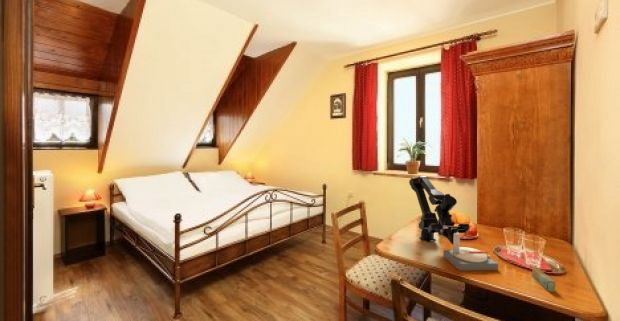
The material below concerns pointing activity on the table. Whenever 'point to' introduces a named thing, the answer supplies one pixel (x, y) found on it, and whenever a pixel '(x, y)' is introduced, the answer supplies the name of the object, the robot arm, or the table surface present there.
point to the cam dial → (467, 252)
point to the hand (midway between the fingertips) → (454, 244)
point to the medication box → (543, 280)
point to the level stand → (470, 263)
